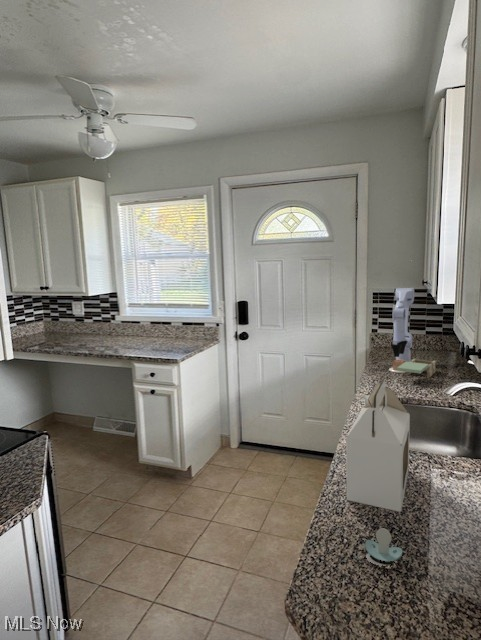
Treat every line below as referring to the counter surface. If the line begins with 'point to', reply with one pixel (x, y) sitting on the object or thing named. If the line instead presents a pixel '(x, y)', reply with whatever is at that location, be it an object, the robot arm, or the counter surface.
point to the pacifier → (382, 548)
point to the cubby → (430, 369)
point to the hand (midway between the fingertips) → (399, 355)
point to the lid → (412, 367)
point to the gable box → (379, 451)
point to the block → (397, 363)
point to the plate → (396, 371)
